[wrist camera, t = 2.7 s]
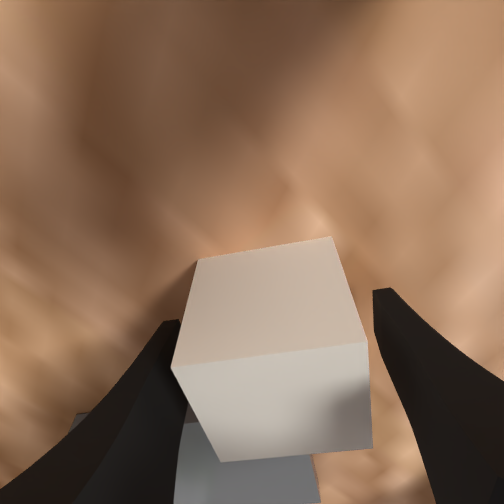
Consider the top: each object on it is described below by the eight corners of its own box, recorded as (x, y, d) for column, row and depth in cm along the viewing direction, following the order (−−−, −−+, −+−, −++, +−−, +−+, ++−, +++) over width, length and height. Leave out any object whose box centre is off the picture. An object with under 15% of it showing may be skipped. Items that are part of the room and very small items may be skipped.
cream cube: (331, 235, 13) (367, 341, 8) (341, 331, 15) (373, 448, 11) (198, 258, 13) (170, 367, 9) (230, 346, 16) (220, 462, 12)
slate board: (296, 388, 17) (298, 411, 16) (318, 481, 23) (321, 502, 22) (76, 414, 19) (66, 436, 18) (145, 495, 24) (140, 515, 23)
